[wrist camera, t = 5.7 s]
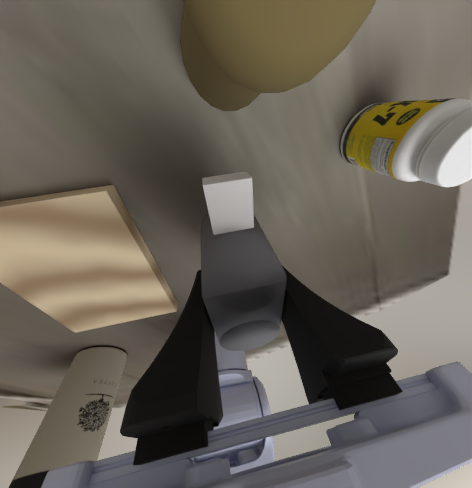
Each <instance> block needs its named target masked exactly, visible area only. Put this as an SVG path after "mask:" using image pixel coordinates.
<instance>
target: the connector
mask: <svg viewBox="0 0 472 488" xmlns="http://www.w3.org/2000/svg"><path fill="white" fill-rule="evenodd" d="M202 182H203V189H204V194H205V198H206V203H207V207H208V212H209V214H208V215H207V216H206V217H205V219H204V220H203V223H202V225H201V282H202V298H203V301H204V304H205V306H206V309H207V312H208V314H209V317H210V320H211V322H212V325H213V328H214V330H215V333H216V336H217V338H218V341H219V344H220V346H221V347H223V348H224V349H227V350H231V351H245V350H250V349H254V348H258V347H260V346H263V345H265V344H267V343H269V342H270V341H272V340H273V339H274V338H276V336H277V335H278V334H279V331H280V325H281V318H282V310H283V303H284V296H285V288H286V279H287V278H286V273H285V271H284V269H283V267H282V265H281V264H280V262H279V260H278V258H277V256H276V254H275V252H274V251H273V249H272V247H271V245H270V243H269V241H268V240H267V238H266V236H265V234H264V232H263V230H262V229H261V227H260V225H259V223H258V221H257V219H256V218H255V216H254V214H253V187H252V177H251V176H250V175H249V173H248V172H247V171H244V172H238V173H231V174H225V175H218V176H212V177H205V178H202Z"/></svg>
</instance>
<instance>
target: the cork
mask: <svg viewBox="0 0 472 488" xmlns="http://www.w3.org/2000/svg"><path fill="white" fill-rule="evenodd" d="M375 1H376V0H184V3H185V5H184V11H183V17H182V29H181V47H182V54H183V61H184V65H185V68H186V70H187V73H188V76H189V78H190V81H191V83H192V84H193V86H194V87H195V89H196V90H197V92H198V93H199V95H200V96H201V97H202V98H203V99H204V100H205V101H207V102H208V103H209V104H210V105H211V106H213V107H216V108H218V109H221V110H223V111H236V110H239V109H241V108H243V107H245V106H248V105H249V104H250V103H251V102H252V101H253V100H254V99H255V98H256V97H257V96H258V95H259V94H260V93H279V92H285V91H288V90H290V89H292V88H294V87H297V86H299V85H301V84H303V83H306V82H308V81H310V80H311V79H312V78H314V77H315V76H316V75H317V74H318V73H319V72H320V71H321V70H322V69H323V68H325V67H326V66H327V65H328V64H329V63H330V62H331V61H332V60H333V59H335V58H336V57H337V56H338V55H339V54H340V53H341V52H342V51H343V50H344V49H345V48H346V46H347V45H348V43H349V42H350V41H351V39H352V38H353V36H354V35H355V33H356V32H357V31H358V29H359V28H360V26H361V25H362V23H363V22H364V21H365V19H366V18H367V16H368V15H369V13H370V12H371V10H372V7H373V5H374V3H375Z"/></svg>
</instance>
